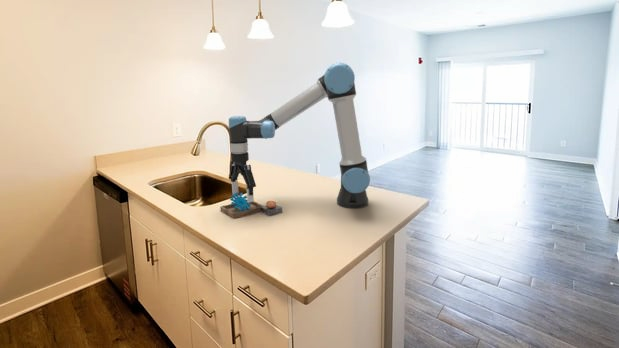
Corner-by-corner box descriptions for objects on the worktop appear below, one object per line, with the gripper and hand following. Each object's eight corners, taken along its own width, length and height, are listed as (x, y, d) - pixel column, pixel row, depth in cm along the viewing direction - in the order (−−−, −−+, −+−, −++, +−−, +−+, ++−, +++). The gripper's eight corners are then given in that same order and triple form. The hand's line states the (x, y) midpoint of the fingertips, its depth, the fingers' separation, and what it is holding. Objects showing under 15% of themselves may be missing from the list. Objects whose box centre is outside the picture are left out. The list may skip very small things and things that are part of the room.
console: (282, 212, 157) (282, 207, 156) (269, 216, 152) (269, 210, 152) (273, 208, 162) (273, 203, 161) (260, 212, 158) (260, 206, 157)
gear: (237, 211, 152) (228, 192, 155) (230, 218, 155) (222, 199, 158) (256, 208, 160) (248, 190, 163) (250, 215, 163) (242, 197, 167)
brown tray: (264, 210, 159) (264, 206, 159) (233, 219, 150) (233, 214, 149) (250, 203, 169) (250, 199, 168) (220, 211, 159) (220, 206, 158)
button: (278, 208, 156) (278, 202, 156) (269, 210, 154) (269, 204, 153) (272, 205, 160) (272, 200, 159) (264, 208, 157) (264, 202, 156)
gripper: (262, 154, 145) (264, 203, 151) (233, 147, 164) (237, 190, 169) (246, 157, 141) (249, 207, 146) (218, 149, 159) (222, 194, 165)
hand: (242, 198), depth 158 cm, fingers open, 13 cm apart
